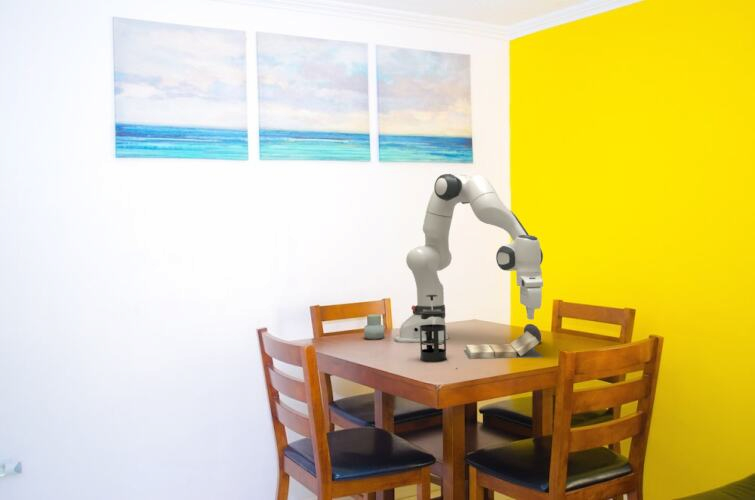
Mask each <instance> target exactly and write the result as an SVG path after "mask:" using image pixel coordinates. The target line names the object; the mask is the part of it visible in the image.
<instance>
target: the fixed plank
mask: <svg viewBox="0 0 755 500" xmlns="http://www.w3.org/2000/svg"><path fill="white" fill-rule="evenodd" d="M488 345H489V346H490V348H491V349H492V350H493V351H494V357H495V358H496V359H510V358H509V357H517V355H516V351H515V350H514V349H513V348H512V347H511V345H510V343H501V344H500V343H497V344H496V343H493V344H492V343H491V344H488Z"/></svg>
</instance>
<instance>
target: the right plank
mask: <svg viewBox="0 0 755 500" xmlns="http://www.w3.org/2000/svg"><path fill="white" fill-rule="evenodd" d="M538 343H539V341H538V340H537V339H536V338H535V337H534V336H533V335H532V334H530V333H529V332H528V331H527V332H525V333H524V332H523V333H522V334H521V335H520V336H518V337H517V338H516V339H515V340H513V341H512V342H510V343H509V345H510V346H511V347H512V348H513V349H514V350H515V351H516V352H517V353H518V354H519V355H520V356H522V355H523V354H524V353H526V352H527V351H528V350H530V349H531V348H534V347H535V346H537V345H539V344H538Z"/></svg>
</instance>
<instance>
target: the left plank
mask: <svg viewBox="0 0 755 500" xmlns="http://www.w3.org/2000/svg"><path fill="white" fill-rule="evenodd" d="M465 345H466V346H465V350H466V351H467V352H468V354H469V356H470V357H471V358H494V351H493V350H492V349H491V348H490V346H489V344H465Z"/></svg>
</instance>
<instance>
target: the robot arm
mask: <svg viewBox="0 0 755 500" xmlns="http://www.w3.org/2000/svg"><path fill="white" fill-rule="evenodd" d="M433 186H434V187H433V188H434V189H433V190H432V192H431V195H430V198H429V201H428V203H427V207H426V210H425V215H424V220H423V225H422V231H423V233H424V236H425V237H424V238H425V243H424V245H421V246H416V247H415V248H413V249H411V250H410V251H409V252H408V253H407V255H406V259H405V261H406V266H407V267H408V268H409V270H411V273H412V276H413V278H414V281H415V285H416V297H417V299H416V301H417V305H412V306H411V310H412V315H411V316H409V317H408V318H407V319H406V320H405V321H403V322H402V324H401V325H400V329H399V334H396V335H395V336H394V341H396V342H398V343H403V342H404V343H420V326H421V325H427V324H432V317H429V318H428V319H421V314H420V312H423V311H430V310H432V304H431V298H430V297H426V296H427V295H437V296H436V297H433V301H432V303H433V310H437V311H444V312H445V313H444V318H441V317H433V324H440V325H445V332H446V340H448V339H449V338H450V337H449V334H448V332H447V331H448V330H447V326H446V306H445V303H444V302H445V299H444V297H445V295H444V285H443V284H442V282H441V281H440V278H439V275H438V272H440V271H442V270H444V269H446V268H447V267H449V266H450V264H451V262H452V258H453V257H452V253H451V251H450V249H449V248H450V245H449V240H450V239H449V237H450V230H451V225H452V220H453V215H454V210H455V208H456V206H457V204H459V203H460V204H462V205H465V204H467V205H468V204H469V206H470V207H471V209H472V212H473V213H474V214H473V215H474V216H475V217H476V218H477V219H478V221H480V222H482V223H484V224H487V225H491V226H495V227H498V228H500V229H502V230H505V232H506V233H508V234H509V236H510V238H511V239H512V240H513V241H512V242H510V243H507V244H505V245H501V246H500V247H499V248H498V250H497V252H496V255H495V256H496V257H495V259H496V264H497V266H498V267H499V268H500V270H503V271H508V272H511V271H513V272H514V271H516V274H515V276H516V286H517V287H519V302H520V304H521V305H523V306H524V307H525V310H526V318H527V319H528V320H530V321H531V320H534V319H535V318H534V316H535V315H534V314H535V310H537V309H538V310H539V309H541V307H542V298H543V296H542V295H543V294H542V293H543V291H542V287H544V280H543V276H542V273H543V272H542V269H541V264H542V262H543V259H544V254H543V251H542V249H541V246H540V245H541V244H540V240H539V238H538V237H537V236H534V235H531V234H529V233H528V232H527V230H526V228H525V227H524V225H523V224H522V223H521V221H520V219H519V218H518V217H517V215H516V214H515V213H514V212H513V211H512V210H510V208H508V207H507V206H506V205H505V204H504V202H503V201H502V200H501V199H500V197H499V194H498V193H497V191H496V190H495V188H494V186H493V185H492V183H491V182H490V180H489V179H488V178H487V177H486V176H484V175H482V174H477V175H473V176H469V175H465V174H453V173H444V174H441V175H439V176H438V177H437V179H436V180H435V182H434V185H433ZM433 338H434V337H433ZM425 340H426V331H422V341H425ZM438 340H443V341H444V331H438Z"/></svg>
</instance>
